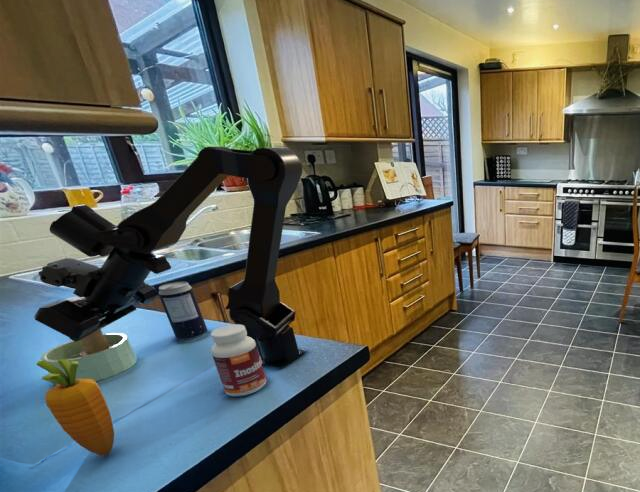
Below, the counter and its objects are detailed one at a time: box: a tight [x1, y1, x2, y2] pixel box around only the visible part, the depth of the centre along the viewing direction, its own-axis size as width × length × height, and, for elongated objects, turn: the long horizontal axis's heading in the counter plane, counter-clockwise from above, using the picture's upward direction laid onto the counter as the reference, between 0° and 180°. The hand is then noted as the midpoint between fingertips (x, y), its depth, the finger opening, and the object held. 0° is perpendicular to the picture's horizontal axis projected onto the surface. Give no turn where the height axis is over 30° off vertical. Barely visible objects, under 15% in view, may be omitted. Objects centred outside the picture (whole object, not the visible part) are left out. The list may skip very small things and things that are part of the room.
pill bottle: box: [210, 323, 267, 397], centre depth 67 cm, size 6×6×11 cm
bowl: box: [40, 332, 138, 386], centre depth 74 cm, size 11×11×6 cm
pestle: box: [62, 295, 115, 357], centre depth 73 cm, size 5×5×13 cm
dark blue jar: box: [158, 281, 208, 341], centre depth 86 cm, size 6×6×12 cm
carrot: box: [36, 359, 115, 457], centre depth 51 cm, size 5×5×15 cm
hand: (81, 335), depth 73 cm, fingers closed on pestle, 3 cm apart
